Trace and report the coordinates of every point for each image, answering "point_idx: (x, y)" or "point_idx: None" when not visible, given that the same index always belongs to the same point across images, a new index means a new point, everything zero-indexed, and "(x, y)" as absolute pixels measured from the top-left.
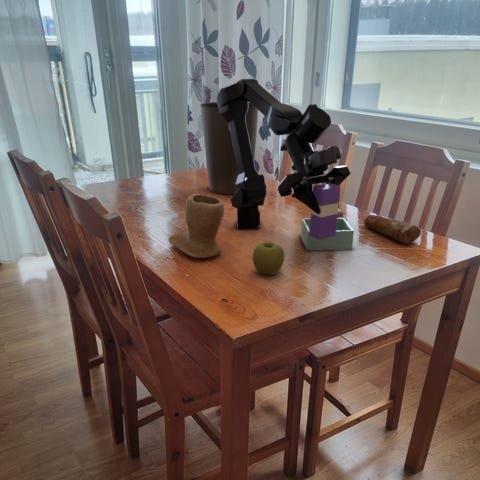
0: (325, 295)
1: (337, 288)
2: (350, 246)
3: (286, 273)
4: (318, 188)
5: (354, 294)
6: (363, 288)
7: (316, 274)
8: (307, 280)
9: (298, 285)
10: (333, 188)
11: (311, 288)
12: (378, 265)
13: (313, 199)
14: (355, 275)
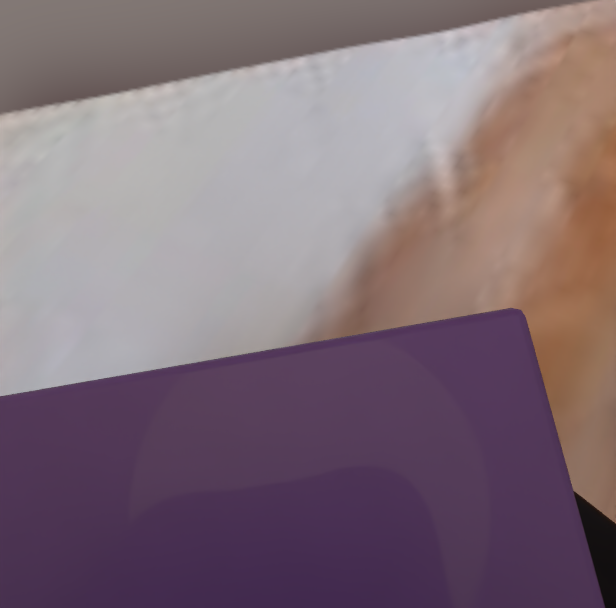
0: (511, 91)
1: (418, 132)
2: None
3: (606, 392)
4: (590, 578)
5: (376, 59)
6: (301, 93)
7: (438, 312)
8: (523, 262)
9: (598, 227)
10: (62, 394)
11: (545, 174)
12: (53, 286)
13: (594, 532)
14: (247, 224)
